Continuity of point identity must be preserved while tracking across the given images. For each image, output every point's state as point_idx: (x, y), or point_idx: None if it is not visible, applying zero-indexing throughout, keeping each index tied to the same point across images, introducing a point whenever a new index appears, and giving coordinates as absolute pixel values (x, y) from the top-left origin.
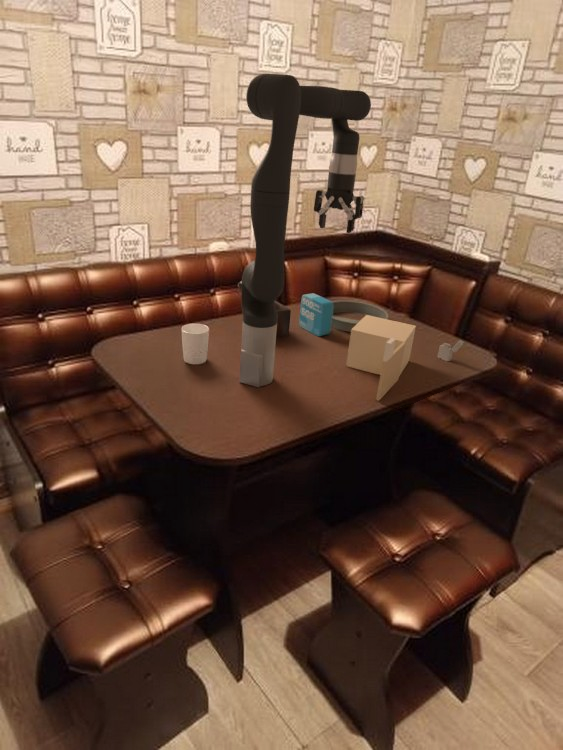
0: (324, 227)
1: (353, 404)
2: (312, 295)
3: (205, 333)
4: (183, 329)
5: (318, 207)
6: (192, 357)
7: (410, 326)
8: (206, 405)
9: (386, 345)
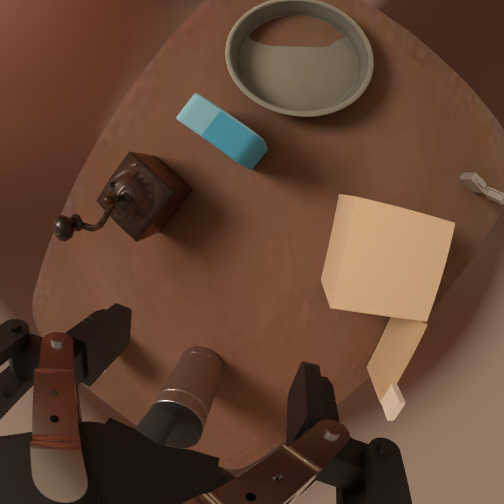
0: (130, 311)
1: (337, 383)
2: (199, 114)
3: None
4: None
5: (19, 368)
6: None
7: (445, 232)
8: None
9: (387, 417)
